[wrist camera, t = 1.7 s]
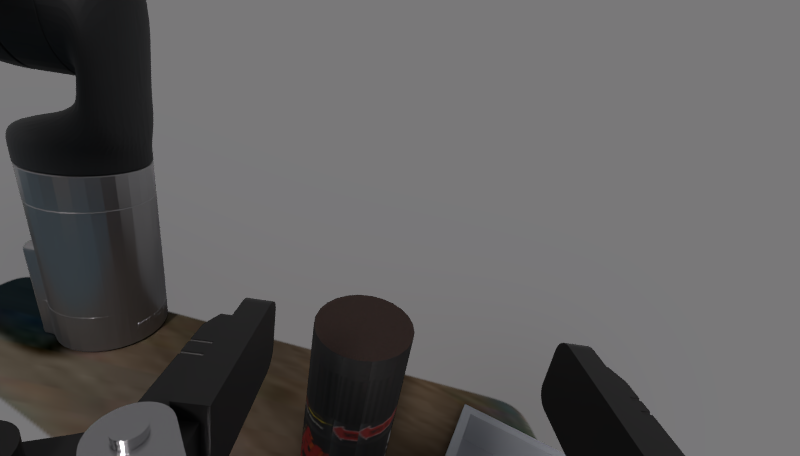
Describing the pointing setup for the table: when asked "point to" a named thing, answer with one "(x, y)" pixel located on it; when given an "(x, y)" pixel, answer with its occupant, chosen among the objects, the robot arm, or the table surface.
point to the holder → (492, 438)
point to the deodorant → (355, 376)
